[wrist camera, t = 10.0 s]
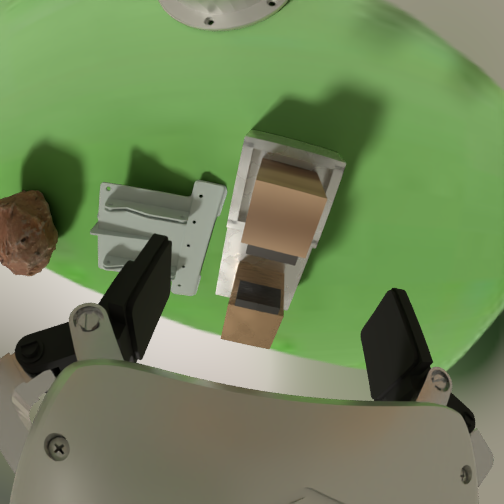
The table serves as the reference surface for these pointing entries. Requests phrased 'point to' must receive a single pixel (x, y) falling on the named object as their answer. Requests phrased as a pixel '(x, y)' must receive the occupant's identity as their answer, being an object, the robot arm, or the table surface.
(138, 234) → the metal bracket
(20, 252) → the decorative rock
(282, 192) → the wood grain cube
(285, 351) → the table surface
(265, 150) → the white desk organizer
